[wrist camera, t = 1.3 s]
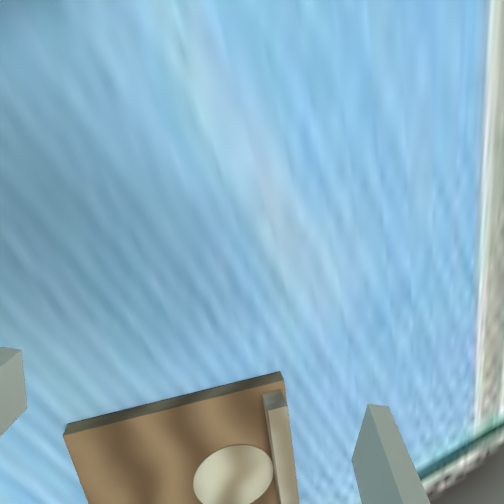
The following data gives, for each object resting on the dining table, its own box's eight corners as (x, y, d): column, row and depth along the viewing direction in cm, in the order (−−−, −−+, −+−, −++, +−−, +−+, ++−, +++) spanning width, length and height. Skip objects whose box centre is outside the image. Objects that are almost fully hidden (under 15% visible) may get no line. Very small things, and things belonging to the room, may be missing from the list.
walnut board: (122, 570, 40) (116, 613, 36) (67, 424, 33) (53, 458, 30) (297, 514, 43) (309, 548, 40) (279, 371, 37) (291, 396, 33)
